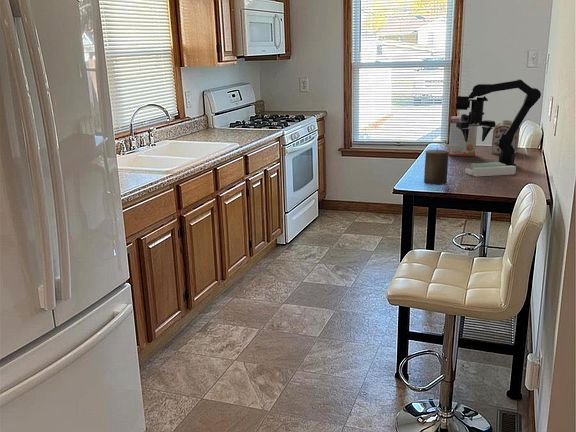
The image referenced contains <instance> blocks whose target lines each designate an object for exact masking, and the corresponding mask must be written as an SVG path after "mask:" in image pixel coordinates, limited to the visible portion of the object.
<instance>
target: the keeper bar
mask: <svg viewBox="0 0 576 432" xmlns="http://www.w3.org/2000/svg"><path fill="white" fill-rule="evenodd" d="M495 166H506V164H503V163H500V162H499V161H495V162H494V161H493V162H475V163H471V167H470V169H471V170H473V168H477V167H495Z"/></svg>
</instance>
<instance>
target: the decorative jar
mask: <svg viewBox="0 0 576 432" xmlns="http://www.w3.org/2000/svg"><path fill="white" fill-rule="evenodd" d="M512 122H513V120H507V119H504V120H502V122H500V123H496V125H495V127H493V129H492V130H493V131H492V137H491V138H492V139H491V148H490V149H491V150H490V153H491V154H494V155H500V152H503V151H502V150H501V149H500V148H499V146H498V138H499V137H500V136H501V133H502V132H503V133H505V132H506V131H507V130H508V129H509V127H510V125H511V124H512ZM520 128H521V127H520V126H519V128H518V130H517V131H516V133H515V135H514V138H513V141H512V144H511V145H512V146H513V147H514V149H515V151H514V152H515V154H516V153H518V150H519V141H520V131H521V129H520Z"/></svg>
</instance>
